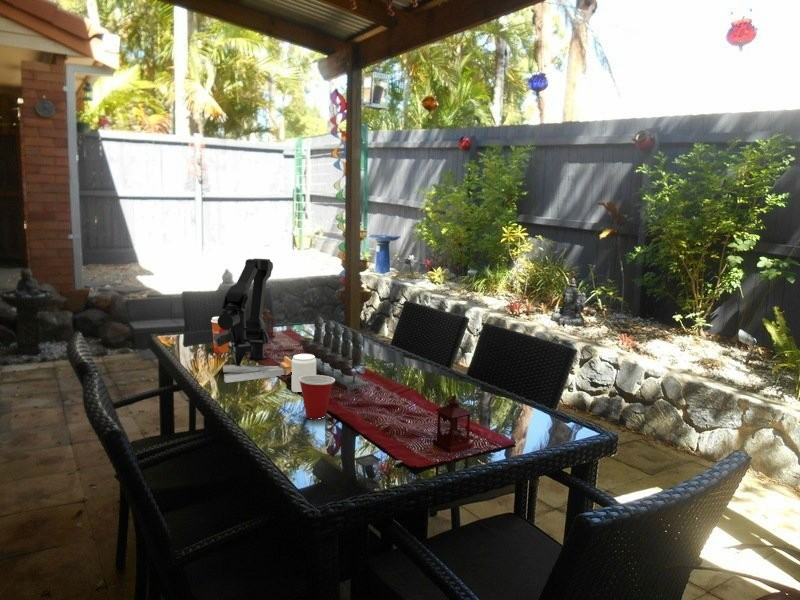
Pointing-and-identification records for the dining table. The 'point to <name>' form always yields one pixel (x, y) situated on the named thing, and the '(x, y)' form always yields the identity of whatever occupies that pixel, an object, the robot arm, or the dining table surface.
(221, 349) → the paper cup
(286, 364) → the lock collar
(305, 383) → the plastic cup
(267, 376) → the base
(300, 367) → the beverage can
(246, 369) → the bar
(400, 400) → the dining table surface
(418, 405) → the dining table surface
